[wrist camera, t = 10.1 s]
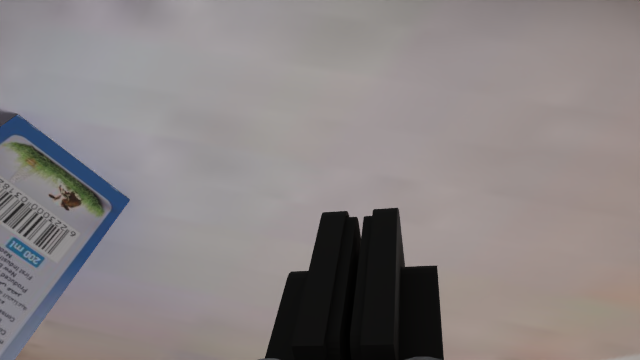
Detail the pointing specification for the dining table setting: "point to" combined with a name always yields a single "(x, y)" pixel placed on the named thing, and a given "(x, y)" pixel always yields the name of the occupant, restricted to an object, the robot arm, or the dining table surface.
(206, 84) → the dining table surface
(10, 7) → the dining table surface
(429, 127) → the dining table surface
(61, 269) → the milk carton
